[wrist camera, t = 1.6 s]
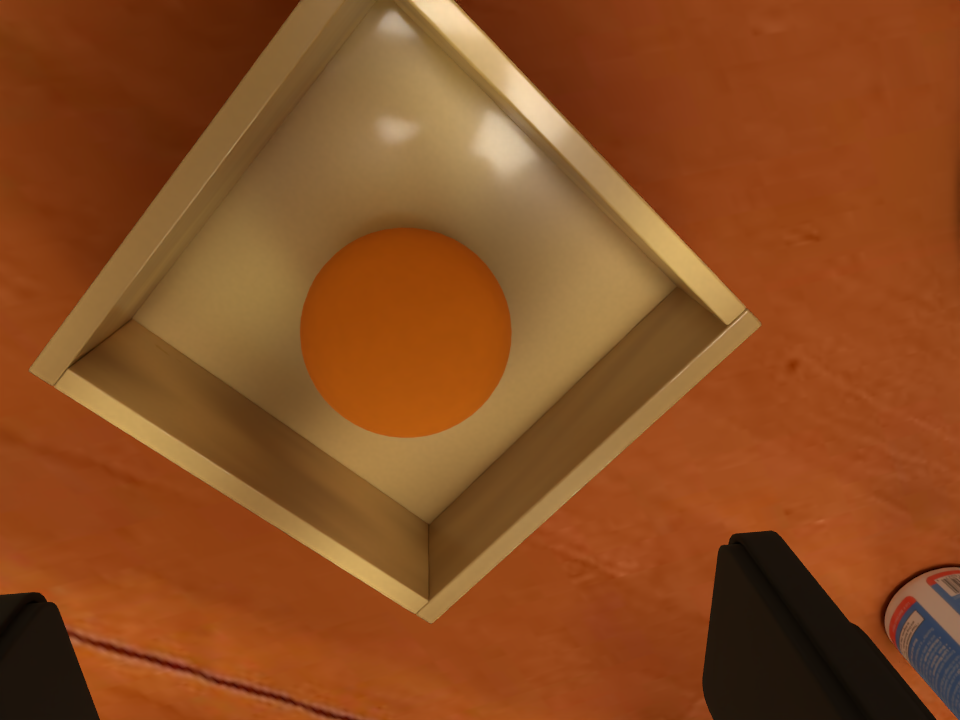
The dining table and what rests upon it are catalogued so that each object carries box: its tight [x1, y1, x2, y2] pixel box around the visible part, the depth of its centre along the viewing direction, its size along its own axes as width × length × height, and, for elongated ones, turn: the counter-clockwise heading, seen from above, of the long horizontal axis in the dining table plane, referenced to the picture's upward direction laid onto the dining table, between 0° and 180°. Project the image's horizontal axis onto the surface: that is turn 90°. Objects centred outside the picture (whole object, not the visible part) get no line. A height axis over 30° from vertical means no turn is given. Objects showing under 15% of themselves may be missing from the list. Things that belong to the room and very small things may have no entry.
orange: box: [300, 228, 512, 438], centre depth 20 cm, size 7×7×7 cm
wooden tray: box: [29, 0, 762, 624], centre depth 22 cm, size 16×16×5 cm
